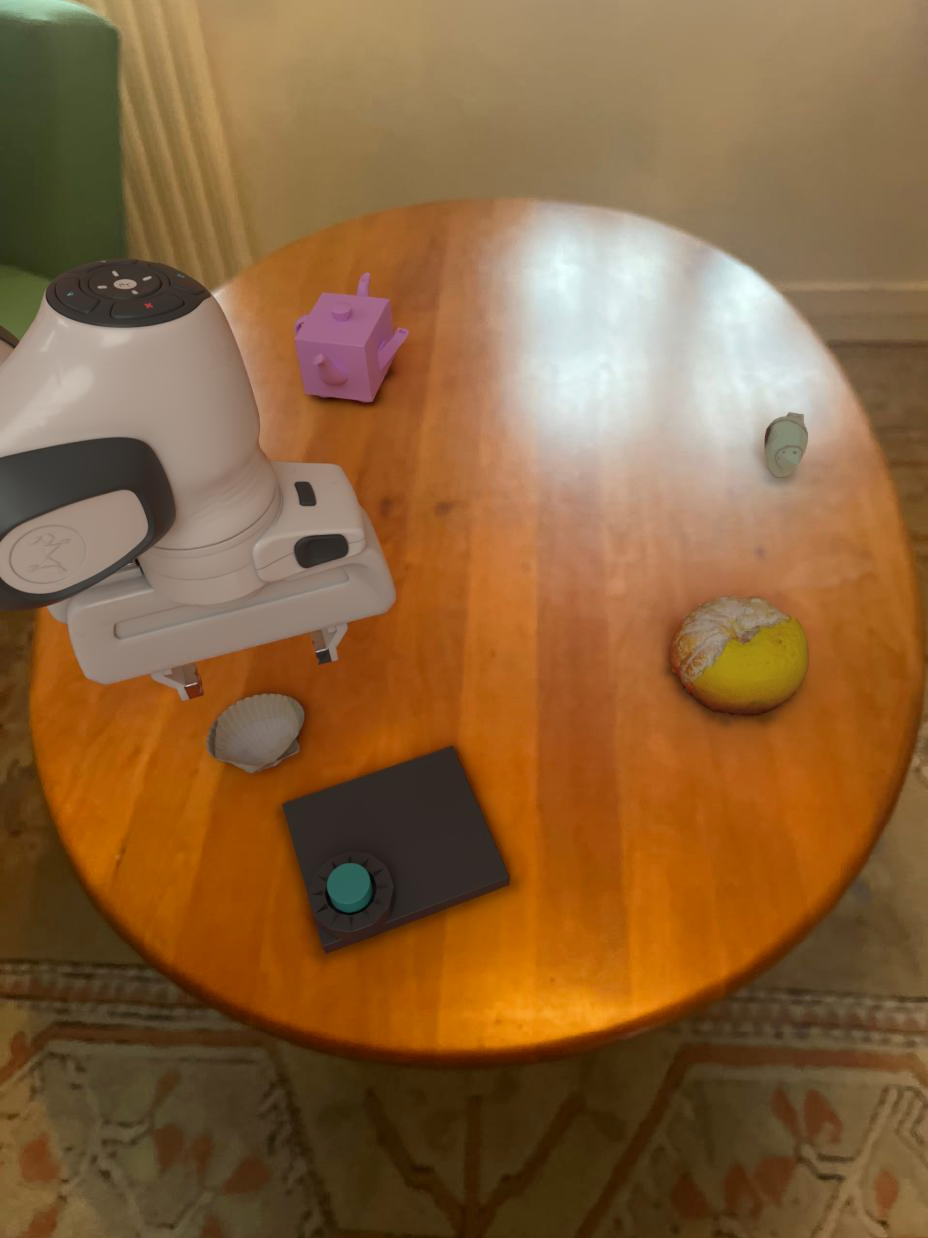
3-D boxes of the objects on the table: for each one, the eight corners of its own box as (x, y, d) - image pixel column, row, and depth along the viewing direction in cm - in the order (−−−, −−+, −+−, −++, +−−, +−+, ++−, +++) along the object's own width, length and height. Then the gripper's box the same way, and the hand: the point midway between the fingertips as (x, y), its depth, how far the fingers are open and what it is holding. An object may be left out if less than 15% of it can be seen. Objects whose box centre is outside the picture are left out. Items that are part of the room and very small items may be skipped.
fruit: (781, 610, 85) (811, 571, 77) (801, 724, 80) (835, 694, 73) (656, 614, 84) (673, 576, 77) (669, 728, 80) (689, 699, 73)
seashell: (290, 707, 83) (197, 726, 80) (290, 680, 81) (195, 698, 78) (319, 771, 77) (220, 795, 74) (320, 743, 75) (218, 766, 72)
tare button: (336, 919, 66) (333, 910, 65) (325, 881, 68) (321, 871, 66) (378, 904, 66) (375, 894, 65) (365, 866, 68) (363, 856, 67)
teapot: (390, 439, 103) (380, 362, 95) (276, 424, 105) (258, 348, 98) (434, 344, 114) (428, 268, 106) (330, 332, 116) (317, 258, 109)
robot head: (794, 503, 94) (810, 449, 89) (752, 496, 95) (765, 443, 90) (799, 451, 99) (815, 398, 94) (759, 445, 100) (773, 392, 94)
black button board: (326, 960, 67) (320, 944, 64) (285, 812, 74) (277, 793, 72) (512, 890, 69) (512, 872, 67) (453, 754, 77) (451, 734, 75)
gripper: (28, 614, 52) (111, 751, 62) (390, 526, 55) (411, 670, 66) (27, 537, 56) (106, 677, 66) (365, 458, 59) (389, 604, 70)
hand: (260, 673), depth 66 cm, fingers open, 8 cm apart
